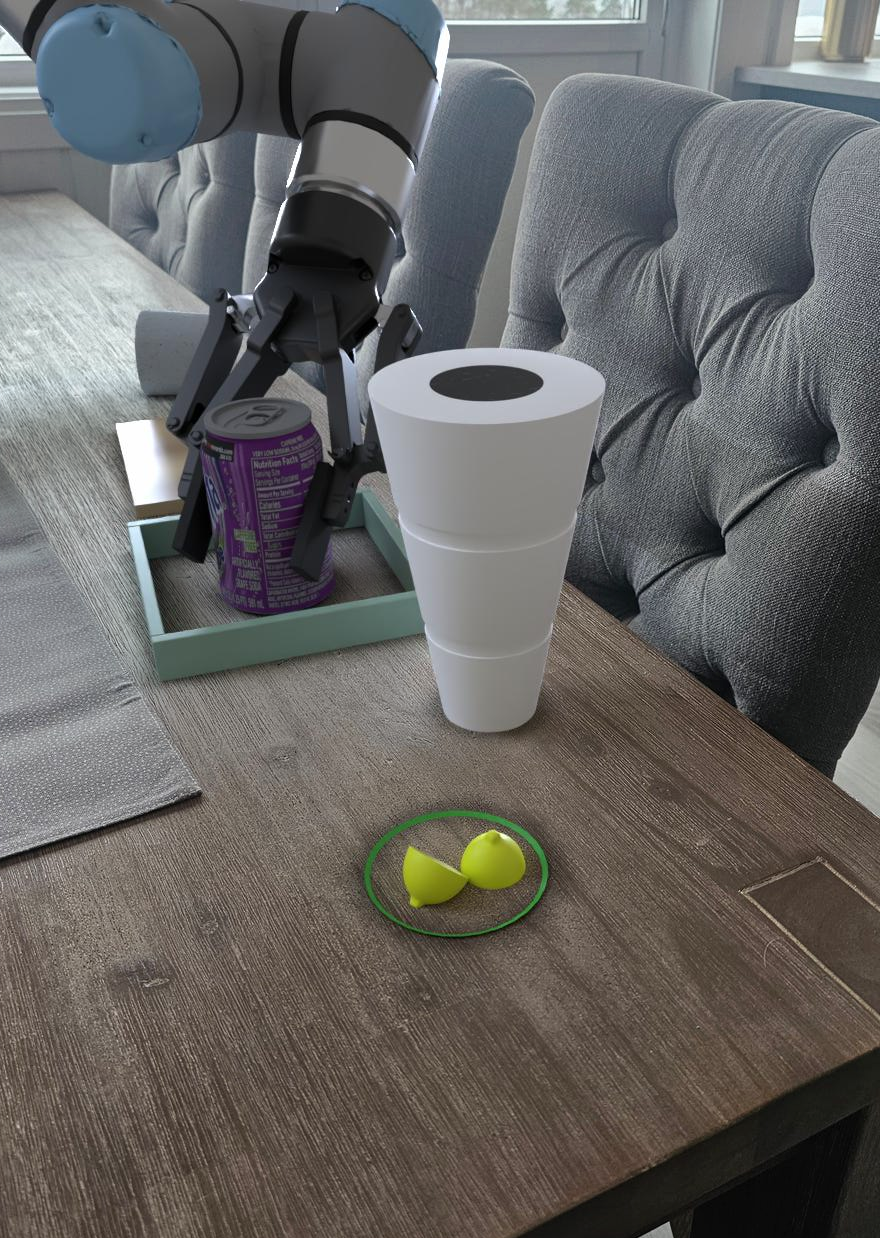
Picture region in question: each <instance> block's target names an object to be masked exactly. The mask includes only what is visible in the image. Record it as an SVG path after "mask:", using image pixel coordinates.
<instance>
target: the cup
mask: <svg viewBox="0 0 880 1238" xmlns="http://www.w3.org/2000/svg"><path fill="white" fill-rule="evenodd" d="M605 391H606V380H605V377H603V375H602V374H601V373H600V372H599V370H596V369H595V368H594V367H592V366H591V365H589V364H588V363H585V362H582V361H581V360H577V359H575V358H571V357H568V356H565V355H560V354H556V353H551V352H547V351H546V352H545V351H539V350H534V349H533V350H532V349H523V348H522V349H521V348H510V347H509V348H508V347H506V348H505V347H472V348H471V347H470V348H461V349H460V348H458V349H448V350H441V351H435V352H429V353H423V354H419V355H415V356H411V358H407V359H404V360H401V361H398V362H396V363H393V364H391V365H389V366H387V367H385V368H383V369H381V370H380V371H378V372H377V373H376V374H375V375H374V376H373V375H372V376H371V378H370V379H369V381H368V383H367V392H368V397H369V401H371V406H372V410H373V414H374V418H375V423H376V427H377V431H378V435H379V440H380V444H381V448H382V453H383V457H384V461H385V465H386V470H387V473H386V474H387V478H388V482H389V486H390V490H391V494H392V498H393V499H392V500H393V503H394V505H395V507H396V509H397V510H398V513H397V517H398V518H397V519H398V523H399V527H400V528H399V529H400V531H401V533H402V536H403V540H404V544H405V548H406V553H407V557H408V561H409V565H410V569H411V573H412V578H413V582H414V586H415V590H416V594H417V598H418V602H419V607H420V611H421V615H422V618H423V620H424V622H425V633H424V634H425V637H426V642H427V647H428V651H429V655H430V659H431V663H432V667H433V668H432V669H433V672H434V676H435V680H436V685H437V689H438V694H439V698H440V702H441V706H442V707H441V708H442V710H443V714H444V715H445V717H446V718H447V719H448V720H449V721H450V722H451V723H452V724H454V725H456V726H457V727H459V728H462V729H465V730H468V731H472V732H476V733H477V732H478V733H499V732H507V731H510V730H514V729H516V728H518V727H521V726H522V725H525V723H527V722H528V721H530V720H531V719H532V717H534V714H535V713H536V710H537V706H538V705H537V704H538V700H539V696H540V691H541V686H542V682H543V676H544V672H545V667H546V663H547V658H548V653H549V650H550V649H549V648H550V644H551V639H552V634H553V630H554V629H553V628H554V624H553V621H554V619H555V618H556V614H557V609H558V605H559V601H560V596H561V591H562V587H563V583H564V578H565V574H566V569H567V564H568V561H569V556H570V552H571V548H572V542H573V538H574V533H575V530H576V529H575V528H576V525H577V520H578V510H577V509H578V508H579V506H580V504H581V502H582V498H583V493H584V488H585V484H586V480H587V475H588V470H589V466H590V461H591V455H592V451H593V446H594V442H595V437H596V432H597V428H598V424H599V419H600V414H601V411H602V410H601V409H602V405H603V400H604V396H605Z"/></svg>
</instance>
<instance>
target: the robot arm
mask: <svg viewBox="0 0 880 1238" xmlns="http://www.w3.org/2000/svg"><path fill="white" fill-rule="evenodd" d="M0 28H1V29H2V30H3V31H4V32H5V33H6V34H7V35H8V36H9V37H10V39H12V41H14V43H15V44H16V45H17V46H18V47H19V48H20V49H21V50H22V51H23V52H24V54H25V55H27V57H29V59H30V60H31V61H32V62H33V63H34V64H35V77H36V78H35V79H36V86H37V92H38V95H39V97H40V99H41V101H42V103H43V106H44V109H45V112H46V113H47V116H48V118H49V122H50V123H51V125H52V127H53V128H54V129H55V131H56V132H57V134H59V136H60V137H61V138H62V139H63V140H64V141H65V142H66V143H67V144H68V145H69V146H70V147H71V148H73V149H74V150H75V151H76V152H78V153H80V154H81V155H83V156H85V157H87V158H88V159H91V160H92V161H95V162H99V163H101V164H106V165H112V166H126V165H127V166H128V165H134V164H135V165H136V164H142V163H157V162H161V161H162V160H167V159H170V158H172V157H174V156H175V155H176V154H177V153H179V152H180V151H183V150H185V149H187V148H190V147H193V146H195V145H198V144H205V143H209V142H212V141H214V140H218V139H220V138H224V137H227V136H229V135H233V134H234V133H238V132H242V133H243V132H244V133H245V132H246V133H253V134H259V135H265V136H266V135H268V136H273V137H281V138H288V139H293V140H295V141H300V142H299V145H298V149H297V152H296V155H295V158H294V161H293V165H292V168H291V172H290V174H289V178H288V180H287V185H286V188H285V192H284V197H285V201H283V202H282V205H281V207H280V210H279V213H278V216H277V220H276V224H275V227H274V231H273V234H272V237H271V241H270V244H269V248H268V256H267V257H268V258H267V270H266V272H265V274H264V276H263V278H262V279H261V281H260V282H259V283H258V284H257V285H256V286H255V288H254V290H253V292H250V293H243V294H235V295H231V294H230V293H229V292H228V290H227V289H225V288H223V287H219V288H216V289H214V290H213V291H212V292H211V294H210V297H209V310H208V313H209V321H208V324H207V326H206V329H205V331H204V333H203V336H202V338H201V340H200V343H199V345H198V348H197V350H196V352H195V355H194V357H193V359H192V362H191V364H190V366H189V369H188V371H187V373H186V376H185V378H184V380H183V383H182V385H181V387H180V390H179V392H178V395H176V397H175V399H174V402H173V404H172V407H171V409H170V411H169V412H168V413H169V414H168V415H167V417H168V418H167V417H166V418H167V420H166V428H167V429H168V431H170V432H171V433H172V434H173V435H174V436H175V437H176V438H178V439H179V440H180V441H181V442H182V443H183V444H184V445H186V446H187V447H188V449H189V451H188V455H187V458H186V462H185V465H184V468H183V472H182V475H181V478H180V479H181V480H180V482H179V485H178V497H180V498H181V499H182V500H183V501H185V502H184V505H183V509H182V512H180V514H179V515H180V519H179V522H178V526H177V529H176V532H175V536H174V539H173V542H172V546H171V548H173V549H174V550H176V551H177V552H179V553H180V554H179V555H182V556H183V557H185V558H186V559H187V560H189V561H190V562H192V563H195V564H201V565H205V562H206V558H207V555H208V551H209V550H208V548H209V544H210V541H211V538H212V534H213V533H212V526H211V520H210V513H209V507H208V500H207V493H206V487H205V480H204V473H203V467H202V460H201V453H200V448H201V444H202V441H203V438H204V435H205V432H206V428H205V425H204V416H205V414H206V413H207V412H209V411H210V410H211V409H213V408H215V407H217V406H219V405H222V404H225V403H228V402H232V401H237V400H242V399H249V398H261V397H265V396H266V394H267V393H268V391H269V390H270V388H271V387H272V386H273V384H274V382H275V381H276V380H277V378H279V377H284V376H285V374H287V372H288V371H289V369H290V368H291V366H292V365H293V363H297V364H299V363H307V362H313V363H315V364H318V365H321V366H323V376H324V387H325V398H326V399H325V400H326V408H327V409H326V410H327V420H328V429H329V441H330V450H327V451H326V452H327V455H328V456H329V458H331V459H332V461H333V464H331V463H330V462H328V461H324V462H321V461H317V465H316V468H315V472H314V475H313V479H312V482H311V486H310V490H309V493H308V497H307V501H306V504H305V508H304V511H303V515H302V519H301V522H300V526H299V530H298V533H297V537H296V541H295V544H294V548H293V551H292V555H291V559H290V562H289V567H290V568H292V569H293V570H294V571H295V572H297V573H298V574H299V575H300V576H302V577H303V578H304V579H305V580H306V581H311V582H317V583H318V582H319V578H320V574H321V571H322V567H323V563H324V559H325V556H326V552H327V548H328V545H329V541H330V537H331V538H332V533H333V531H334V530H333V526H334V527H341V528H344V526H345V525H346V523H347V522H348V520H349V517H350V513H351V509H352V504H353V502H354V498H355V494H356V490H357V489H358V487H359V483H360V481H361V479H363V478H364V477H365V476H367V475H368V474H373V473H377V472H379V473H380V474H384V475H385V474H387V470H386V465H385V461H384V457H383V453H382V448H381V444H380V440H379V435H378V431H377V427H376V423H375V418H374V414H373V410H372V406H371V401H370V400H369V401H368V408H367V409H368V410H367V415H366V423H365V430H364V435H363V433H362V425H361V424H362V423H361V413H360V404H359V395H358V394H359V393H358V384H357V378H359V377H358V376H359V371H358V362H357V354H356V353H357V351H356V347H358V346H359V345H360V344H361V343H362V342H364V340H365V339H366V338H367V337H369V336H370V335H371V334H372V333H373V332H374V330H376V329H377V330H376V333H377V336H378V337H379V338H378V341H377V347H376V353H375V361H374V367H373V374H372V377H373V376H374V375H375V374H376V373H377V372H378V371H380V370H381V369H383V368H385V367H387V366H389V365H391V364H393V363H396V362H398V361H401V360H404V359H407V358H411V357H413V354H414V353H415V350H416V348H417V346H418V344H419V342H420V340H421V339H422V337H423V333H424V331H423V328H422V326H421V325H420V323H419V321H418V318H417V317H416V315H415V313H414V312H413V310H412V308H411V306H410V305H409V304H407V303H404V302H401V303H398V304H397V305H395V306H394V307H393V306H390V305H387V304H384V301H383V296H384V295H385V292H386V291H387V287H388V284H389V280H390V276H391V273H392V269H393V265H394V261H395V258H396V255H397V250H398V239H399V238H400V236H401V234H402V231H403V227H404V223H405V219H406V216H407V212H408V209H409V204H410V200H411V197H412V194H413V189H414V186H415V181H416V178H417V173H418V169H419V165H420V162H421V159H422V155H423V152H424V148H425V145H426V142H427V138H428V135H429V131H430V129H431V126H432V123H433V122H432V121H433V118H434V114H435V112H436V108H437V105H438V103H439V101H440V100H441V95H442V81H443V76H444V72H445V67H446V61H447V56H448V52H449V47H450V46H449V45H450V32H449V29H448V25H447V23H446V19H445V17H444V15H443V13H442V12H441V10H440V8H439V7H438V6H437V4H436V3H435V2H434V1H433V0H341V1H340V3H339V4H338V5H337V6H336V10H335V13H331V12H325V11H324V12H323V11H320V10H319V11H318V10H312V11H311V10H305V9H301V10H297V9H291V8H287V7H286V8H285V7H279V6H274V5H267V4H264V3H257V2H253V1H252V2H251V1H247V0H0ZM256 316H258V319H259V322H258V323H257V324H256V325H255V327H254V328H253V330H252V332H251V323H252V320H253V319H254V318H255V317H256ZM250 332H251V333H250ZM248 333H250V334H249V336H248V337H247V339H246V349H245V351H244V353H243V354H242V356H241V357H240V359H238V355H239V353H240V350H241V348H242V344H243V340H244V335H245V334H248ZM273 349H274V350H275V351H274V350H273ZM236 358H237V359H238V360H237V364H236V366H235V367H234V369H233V370H232V368H233V365H234V363H235V360H236ZM231 370H232V372H231ZM230 372H231V373H230ZM344 529H345V528H344Z"/></svg>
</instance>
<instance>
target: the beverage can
mask: <svg viewBox="0 0 880 1238" xmlns="http://www.w3.org/2000/svg"><path fill="white" fill-rule="evenodd" d="M312 418H313V416H312V409H311V407H309V406H308V405H307V404H306V403H304V402H302V401H299V400H295V399H291V398H285V397H275V396H274V397H272V396H271V397H270V396H269V397H268V396H267V397H265V396H264V397H261V398H249V399H242V400H237V401H232V402H228V403H225V404H222V405H219V406H217V407H215V408H213V409H211V410H210V411H209V412H207V413H206V414H205V416H204V425H205V428H206V432H205V435H204V438H203V441H202V444H201V448H200V453H201V460H202V467H203V473H204V480H205V487H206V493H207V500H208V507H209V513H210V520H211V526H212V533H213V540H214V546H215V549H214V551H215V559H216V565H217V571H218V579H219V584H220V585H219V586H220V591H221V592H220V593H221V596H222V598H223V600H224V601H225V602H226V603H227V604H228V605H230V606H231V607H232V608H235V609H237V610H239V611H243V612H247V613H252V614H259V615H278V614H284V613H290V612H296V611H301V610H306V609H308V608H310V607H312V606H315V605H317V604H318V603H320V602H322V601H324V600H325V599H326V598H328V597H329V596H330V594H331V593H332V592H333V591H334V589H335V586H336V579H335V567H334V555H333V546H332V545H333V543H332V536H331V537H330V541H329V545H328V548H327V552H326V556H325V559H324V563H323V567H322V571H321V574H320V578H319V582H318V583H317V582H311V581H306V580H305V579H304V578H303V577H302V576H300V575H299V574H298V573H297V572H295V571H294V570H293V569H292V568H290V567H289V562H290V559H291V555H292V551H293V548H294V544H295V541H296V537H297V533H298V530H299V526H300V522H301V519H302V515H303V511H304V508H305V504H306V501H307V497H308V493H309V490H310V486H311V482H312V479H313V475H314V472H315V468H316V465H317V461H321V462H325V459H324V449H323V440H322V436H321V435H320V433H319V432H318V430H317V428H316V427H315V425H314V423H313V421H312Z"/></svg>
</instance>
